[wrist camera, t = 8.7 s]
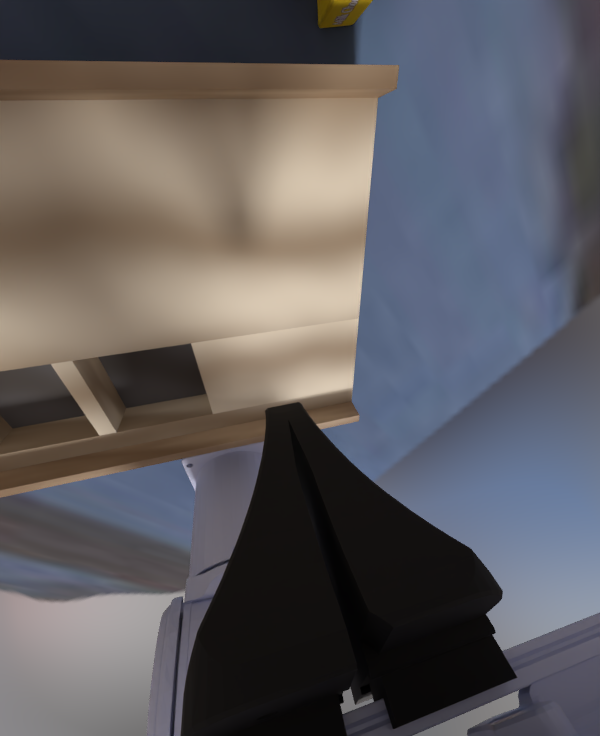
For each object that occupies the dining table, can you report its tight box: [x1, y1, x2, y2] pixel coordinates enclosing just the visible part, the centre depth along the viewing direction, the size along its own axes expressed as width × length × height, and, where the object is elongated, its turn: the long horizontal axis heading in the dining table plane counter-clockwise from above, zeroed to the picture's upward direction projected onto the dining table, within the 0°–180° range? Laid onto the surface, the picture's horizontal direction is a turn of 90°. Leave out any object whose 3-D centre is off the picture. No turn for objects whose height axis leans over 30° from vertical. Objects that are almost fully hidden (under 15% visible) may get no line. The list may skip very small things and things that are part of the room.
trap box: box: [0, 60, 399, 497], centre depth 14 cm, size 18×30×4 cm, turn 93°
